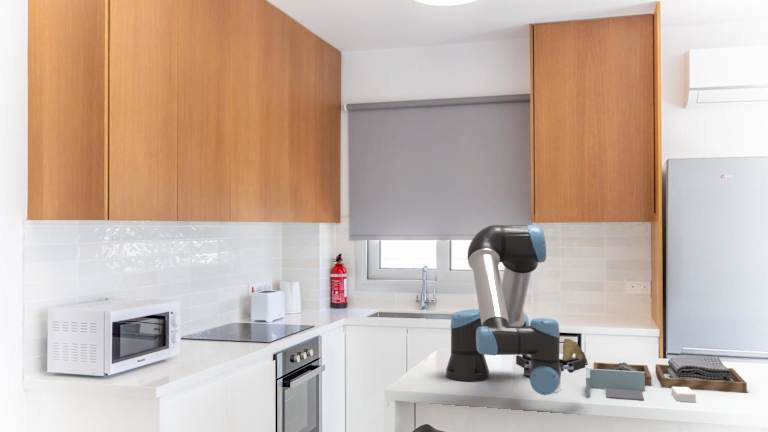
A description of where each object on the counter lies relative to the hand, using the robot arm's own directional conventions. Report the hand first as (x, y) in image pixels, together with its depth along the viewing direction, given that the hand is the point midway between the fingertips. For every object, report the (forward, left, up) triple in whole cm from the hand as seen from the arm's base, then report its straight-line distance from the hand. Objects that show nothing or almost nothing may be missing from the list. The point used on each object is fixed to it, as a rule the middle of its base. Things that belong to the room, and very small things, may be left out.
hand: (551, 356), depth 216 cm
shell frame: (+22, +34, -13) cm, 42 cm away
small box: (-5, +27, -13) cm, 31 cm away
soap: (+39, +11, -13) cm, 43 cm away
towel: (+47, +36, -13) cm, 61 cm away
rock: (+6, +51, -13) cm, 53 cm away
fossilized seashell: (+24, +35, -13) cm, 44 cm away
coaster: (+22, +10, -13) cm, 27 cm away
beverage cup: (0, +10, -13) cm, 17 cm away
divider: (+19, +11, -13) cm, 26 cm away
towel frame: (+47, +35, -13) cm, 60 cm away
